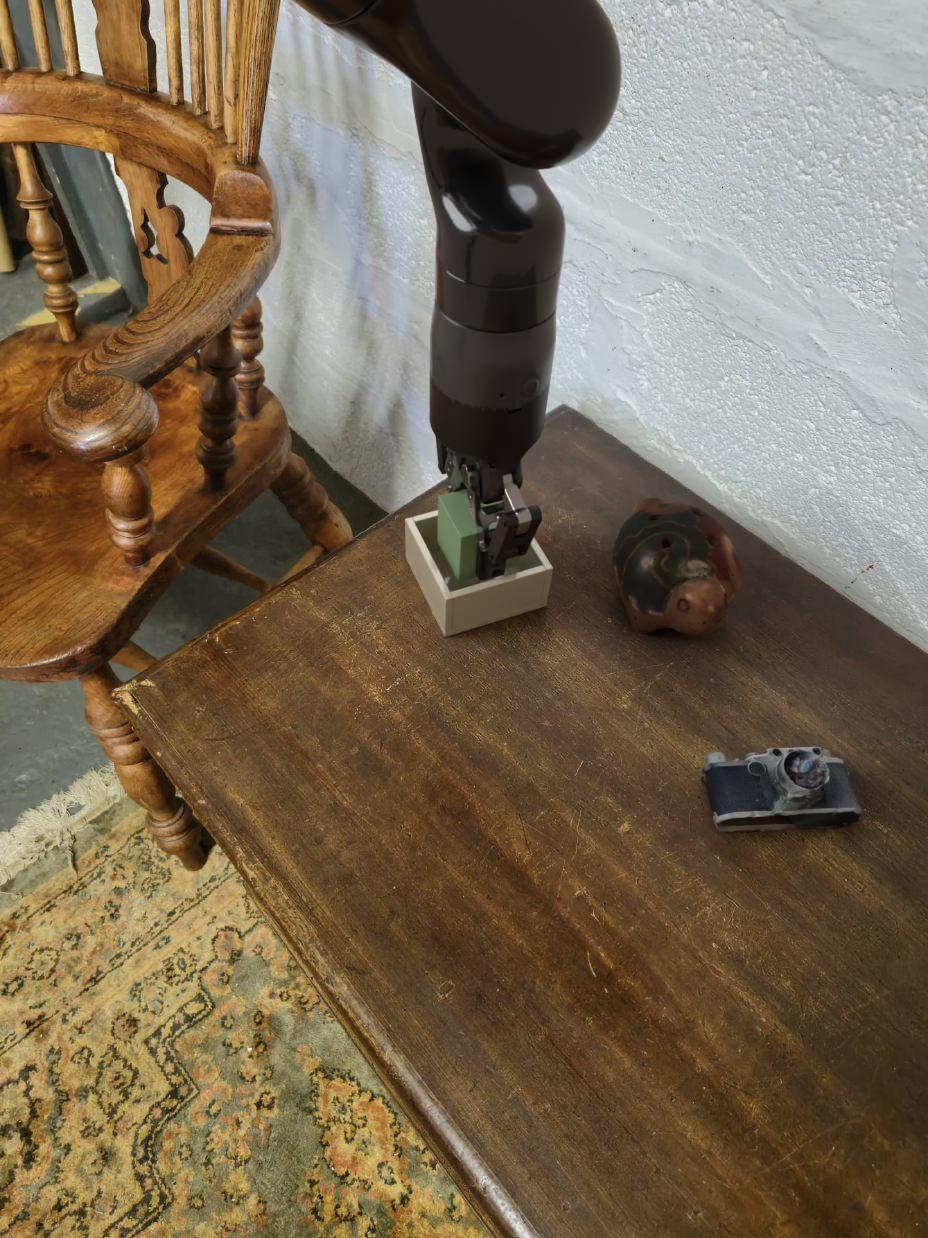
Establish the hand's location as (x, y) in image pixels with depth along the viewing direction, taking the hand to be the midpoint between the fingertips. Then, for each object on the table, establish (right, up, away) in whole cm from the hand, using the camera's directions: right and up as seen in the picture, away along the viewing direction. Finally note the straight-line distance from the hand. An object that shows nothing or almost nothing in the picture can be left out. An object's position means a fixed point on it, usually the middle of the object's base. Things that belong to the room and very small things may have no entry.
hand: (476, 550), depth 65 cm
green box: (0, 0, 0) cm, 0 cm away
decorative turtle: (+15, -4, +3) cm, 16 cm away
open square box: (0, -2, +3) cm, 4 cm away
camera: (+20, -18, -8) cm, 28 cm away
